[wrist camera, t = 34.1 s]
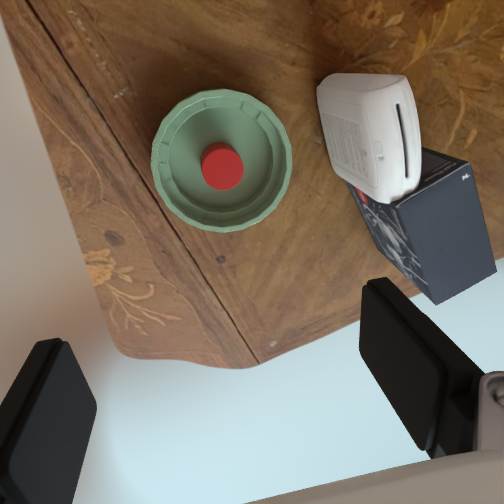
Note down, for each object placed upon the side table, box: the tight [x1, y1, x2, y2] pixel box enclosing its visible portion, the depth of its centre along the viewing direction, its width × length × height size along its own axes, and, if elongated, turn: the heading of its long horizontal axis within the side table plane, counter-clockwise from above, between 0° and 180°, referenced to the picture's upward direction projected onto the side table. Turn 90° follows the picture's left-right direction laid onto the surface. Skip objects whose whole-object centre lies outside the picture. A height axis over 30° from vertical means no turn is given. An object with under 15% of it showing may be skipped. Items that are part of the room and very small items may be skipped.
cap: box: [200, 142, 244, 190], centre depth 34 cm, size 4×4×4 cm
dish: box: [150, 88, 292, 233], centre depth 34 cm, size 13×13×4 cm
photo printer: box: [316, 73, 421, 204], centre depth 31 cm, size 10×4×12 cm, turn 19°
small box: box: [345, 146, 497, 305], centre depth 36 cm, size 13×7×12 cm, turn 32°
